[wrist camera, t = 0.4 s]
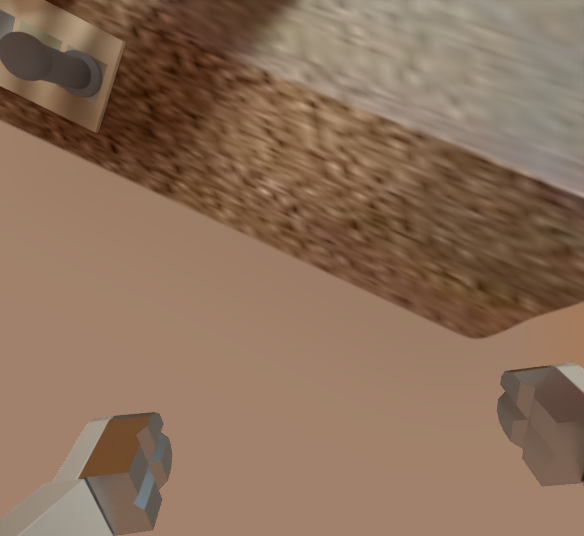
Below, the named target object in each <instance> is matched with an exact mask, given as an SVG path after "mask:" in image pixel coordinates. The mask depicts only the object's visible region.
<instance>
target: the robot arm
mask: <svg viewBox="0 0 584 536" xmlns="http://www.w3.org/2000/svg"><path fill="white" fill-rule="evenodd" d="M500 385H501V386H502V387H503V389H504V390H505V392H504V393H503V395H502V396H501V397H500V398H499V399H498V405H497V412H498V417H499V421H500V424H501V426H502V428H503V431H504V432H505V434H506V435H507V437H508V438H509V440H510V441H511V442H513V443H514V444H516V445H517V446H519V447H521V448H522V449H523V456H522V459H523V460H524V461H525V463H526V465H527V466H528V467H529V469H530V470H531V472H532V473H533V474H534V476H535V477H536V479H537V480H538V482H539V483H540V484H541V486H553V485H565V484H577V483H584V369H583V368H581V367H580V366H579V365H577V364H574V363H572V362H571V363H563V364H556V365H549V366H542V367H533V368H526V369H518V370H510V371H505V372H504V373H503V375H502V377H501V383H500ZM162 427H163V422H162V419H161V416H160V414H159V413H156V412H152V413H141V414H131V415H120V416H114V417H103V418H94V419H92V420H91V421H89V422H88V423H87V424H86V426H85V428H84V429H83V431H82V433H81V434H80V436H79V438H78V439H77V441H76V443H75V444H74V446H73V448H72V449H71V451H70V452H69V454H68V456H67V458H66V459H65V461H64V463H63V464H62V466H61V468H60V469H59V471H58V472H57V474H56V476H55V478H54V479H53V481H52V482H51V483H45V484H43V485H42V486H41V487H39V488H38V489H37V490H36V491H34V492H33V493H32V494H31V495H29V496H28V497H27V498H26V499H24V500H23V501H22V502H21V503H19V504H18V505H17V506H16V507H15V508H13V509H12V510H11V511H9V512H8V513H7V514H6V515H4V516H3V517H2V518H1V519H0V536H116V535H123V534H129V533H137V532H143V531H151V530H153V529H154V526H155V522H156V519H157V516H158V512H159V509H160V506H161V502H162V497H161V495H160V492H159V489H160V488H161V487H162V486H163V485H164V484H165V483H166V482H167V481H168V478H169V474H170V470H171V462H172V450H171V444H170V441H169V438H168V437H167V436H165V435H164V434H163V433H161V429H162ZM583 485H584V484H583Z"/></svg>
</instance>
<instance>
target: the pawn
mask: <svg viewBox="0 0 584 536" xmlns="http://www.w3.org/2000/svg"><path fill="white" fill-rule="evenodd" d="M0 60H1V62H2V63H3V65H4V66H5V68H6V69H7V70H8V71H9V72H10V73H12V74H13V75H14V76H16V77H18V78H20V79H23V80H26V81H38V80H43V81H47V82H51V83H55V84H59V85H62V87H63V88H64V89H65V90H66V91H67V92H69V93H71V94H73V95H75V96H80V97H91V96H93V95H95V94H96V93H97V92H98V91H99V90H100V88H101V85H102V72H101V69H100V67H99V65H98V63H97V62H96V61H95V60H94V59H93V58H92V57H91V56H89V55H88V54H85V53H83V52H81V51H77V50H69V51H66V52H62V51H59V50H57V49H54V48H52V47H49V46H47V45H44V44H42V43H41V42H40V41H39V40H38V39H37V38H35V37H34V36H32V35H30V34H27V33H24V32H10V33H8V34H6V35H4V36H3V37H2V38H1V40H0Z"/></svg>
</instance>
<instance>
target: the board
mask: <svg viewBox="0 0 584 536" xmlns="http://www.w3.org/2000/svg"><path fill="white" fill-rule="evenodd" d="M10 32H24V33H27V34H30V35H32V36H34V37H35V38H37V39H38V40H39V41H40V42H41V43H42V44H44V45H47V46H49V47H52V48H54V49H57V50H59V51H62V52H66V51H69V50H77V51H81V52H83V53H85V54H88V55H89V56H91V57H92V58H93V59H94V60H95V61H96V62H97V63H98V65H99V67H100V69H101V72H102V85H101V88H100V90H99V91H98V92H97V93H96V94H95V95H93V96H91V97H80V96H75V95H73V94H71V93H69V92H67V91H66V90H65V89H64V88H63V87H62V85H59V84H55V83H51V82H47V81H43V80H38V81H26V80H23V79H20V78H18V77H16V76H14V75H13V74H12V73H10V72H9V71H8V70H7V69H6V68H5V66H4V65H3V63H2V62H1V60H0V86H1V87H3V88H5V89H7V90H9V91H11V92H13V93H16V94H18V95H20V96H22V97H24V98H26V99H28V100H30V101H32V102H34V103H36V104H38V105H40V106H42V107H44V108H46V109H48V110H50V111H52V112H54V113H56V114H58V115H60V116H62V117H64V118H66V119H69V120H71V121H73V122H75V123H77V124H79V125H81V126H83V127H85V128H87V129H89V130H91V131H93V132H95V133H99V129H100V126H101V123H102V120H103V116H104V113H105V110H106V106H107V103H108V100H109V96H110V93H111V90H112V86H113V83H114V80H115V76H116V73H117V70H118V66H119V63H120V60H121V57H122V53H123V50H124V47H125V42H124V41H122V40H120V39H118V38H116V37H114V36H112V35H110V34H108V33H107V32H105V31H103V30H101V29H99V28H97V27H95V26H93V25H91V24H89V23H88V22H86V21H84V20H82V19H80V18H78V17H76V16H74V15H72V14H70V13H69V12H67V11H65V10H63V9H61V8H59V7H57V6H55V5H53V4H51V3H49V2H48V1H46V0H0V40H1V38H2V37H3V36H4V35H6V34H8V33H10Z"/></svg>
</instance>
